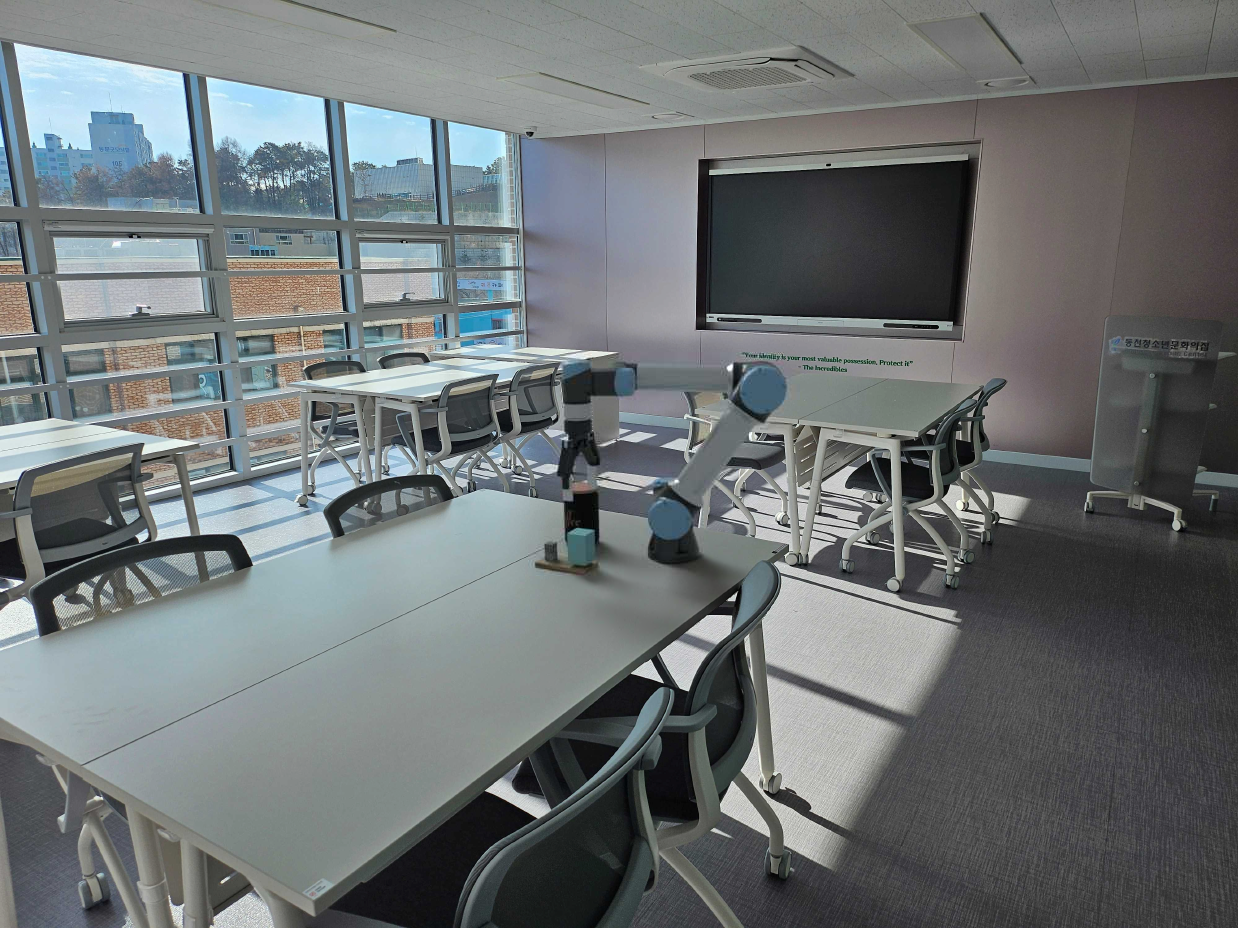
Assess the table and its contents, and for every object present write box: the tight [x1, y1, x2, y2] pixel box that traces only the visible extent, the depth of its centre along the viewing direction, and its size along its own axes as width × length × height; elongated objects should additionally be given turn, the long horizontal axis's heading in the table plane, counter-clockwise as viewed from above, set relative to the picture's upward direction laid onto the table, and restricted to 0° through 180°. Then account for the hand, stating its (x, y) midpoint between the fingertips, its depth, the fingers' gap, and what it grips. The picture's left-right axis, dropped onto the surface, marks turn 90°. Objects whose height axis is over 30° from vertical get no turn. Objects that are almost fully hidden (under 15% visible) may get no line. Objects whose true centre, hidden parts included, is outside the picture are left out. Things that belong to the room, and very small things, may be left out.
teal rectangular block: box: [567, 528, 596, 566], centre depth 233 cm, size 6×6×9 cm
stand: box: [534, 540, 599, 575], centre depth 235 cm, size 8×16×10 cm, turn 63°
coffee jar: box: [563, 481, 601, 546], centre depth 254 cm, size 11×11×18 cm
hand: (580, 494), depth 229 cm, fingers open, 13 cm apart
